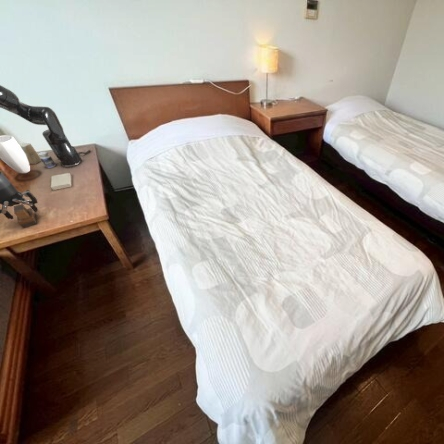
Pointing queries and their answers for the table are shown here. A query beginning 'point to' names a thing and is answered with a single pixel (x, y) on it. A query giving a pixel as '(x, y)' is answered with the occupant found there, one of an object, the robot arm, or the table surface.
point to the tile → (61, 181)
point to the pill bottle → (46, 159)
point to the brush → (24, 215)
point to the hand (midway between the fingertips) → (24, 214)
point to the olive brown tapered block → (30, 153)
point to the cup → (13, 154)
